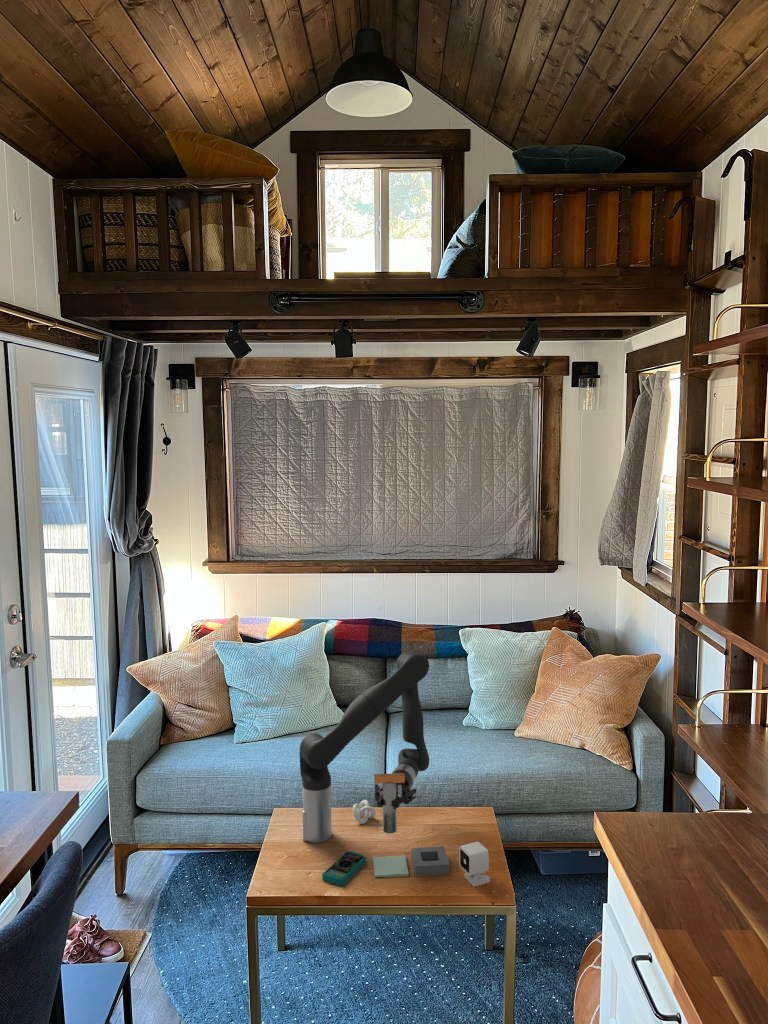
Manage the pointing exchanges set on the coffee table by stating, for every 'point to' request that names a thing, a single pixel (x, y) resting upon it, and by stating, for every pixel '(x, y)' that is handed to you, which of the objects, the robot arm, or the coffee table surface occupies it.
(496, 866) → the coffee table surface
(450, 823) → the coffee table surface
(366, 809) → the knot
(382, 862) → the pad
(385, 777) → the t key
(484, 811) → the coffee table surface
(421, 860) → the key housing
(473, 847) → the security camera
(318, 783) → the robot arm
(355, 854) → the digital multimeter
